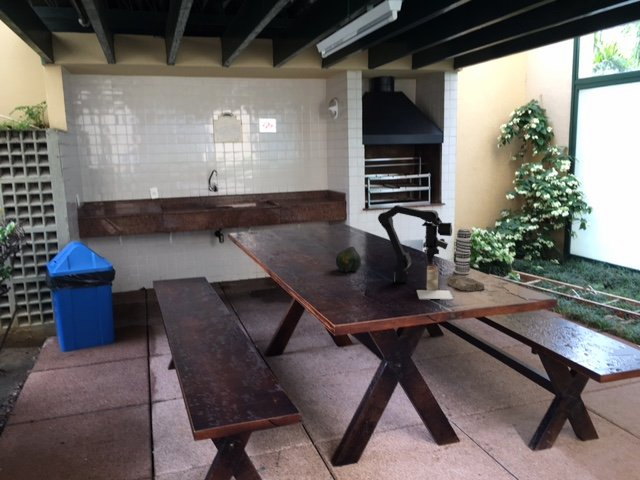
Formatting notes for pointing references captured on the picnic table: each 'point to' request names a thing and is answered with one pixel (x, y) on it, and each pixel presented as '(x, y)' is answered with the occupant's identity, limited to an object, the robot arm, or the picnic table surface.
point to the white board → (434, 294)
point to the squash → (348, 260)
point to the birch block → (432, 277)
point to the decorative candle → (463, 251)
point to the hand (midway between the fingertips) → (430, 264)
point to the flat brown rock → (465, 283)
